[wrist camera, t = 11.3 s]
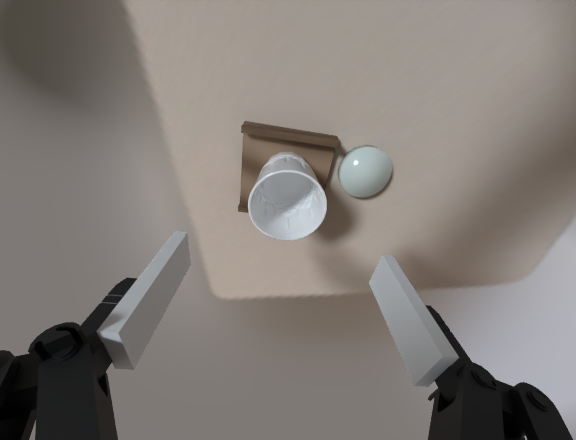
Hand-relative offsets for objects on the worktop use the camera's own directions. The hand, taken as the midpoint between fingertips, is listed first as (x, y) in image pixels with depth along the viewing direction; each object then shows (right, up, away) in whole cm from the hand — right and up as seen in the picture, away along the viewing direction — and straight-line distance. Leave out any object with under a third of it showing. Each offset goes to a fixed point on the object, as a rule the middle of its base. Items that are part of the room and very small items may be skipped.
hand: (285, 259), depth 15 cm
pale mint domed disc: (+11, +10, +17) cm, 22 cm away
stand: (0, +9, +16) cm, 19 cm away
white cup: (0, +9, +15) cm, 18 cm away
